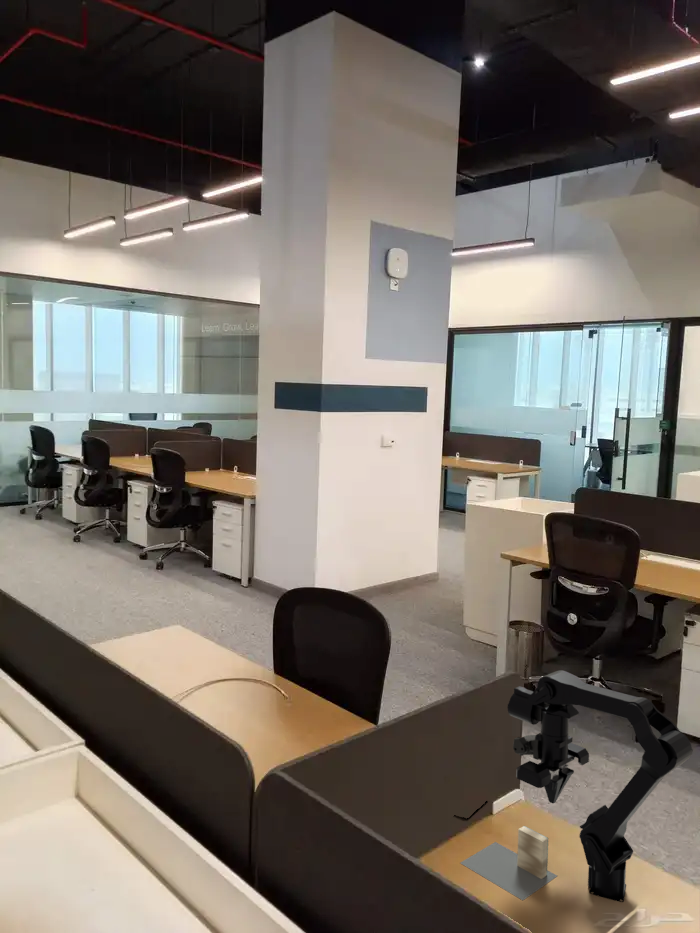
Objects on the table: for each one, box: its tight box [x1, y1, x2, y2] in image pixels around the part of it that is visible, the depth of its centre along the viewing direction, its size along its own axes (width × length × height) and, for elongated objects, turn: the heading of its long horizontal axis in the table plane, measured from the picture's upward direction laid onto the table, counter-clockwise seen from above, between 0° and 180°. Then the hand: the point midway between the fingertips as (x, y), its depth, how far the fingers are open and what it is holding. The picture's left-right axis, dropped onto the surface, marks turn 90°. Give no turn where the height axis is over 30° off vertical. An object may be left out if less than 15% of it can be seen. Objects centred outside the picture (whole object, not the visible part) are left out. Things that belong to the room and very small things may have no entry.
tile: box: [517, 825, 549, 879], centre depth 157 cm, size 6×2×8 cm, turn 41°
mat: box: [460, 841, 558, 901], centre depth 157 cm, size 16×12×1 cm
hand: (552, 802), depth 160 cm, fingers closed
